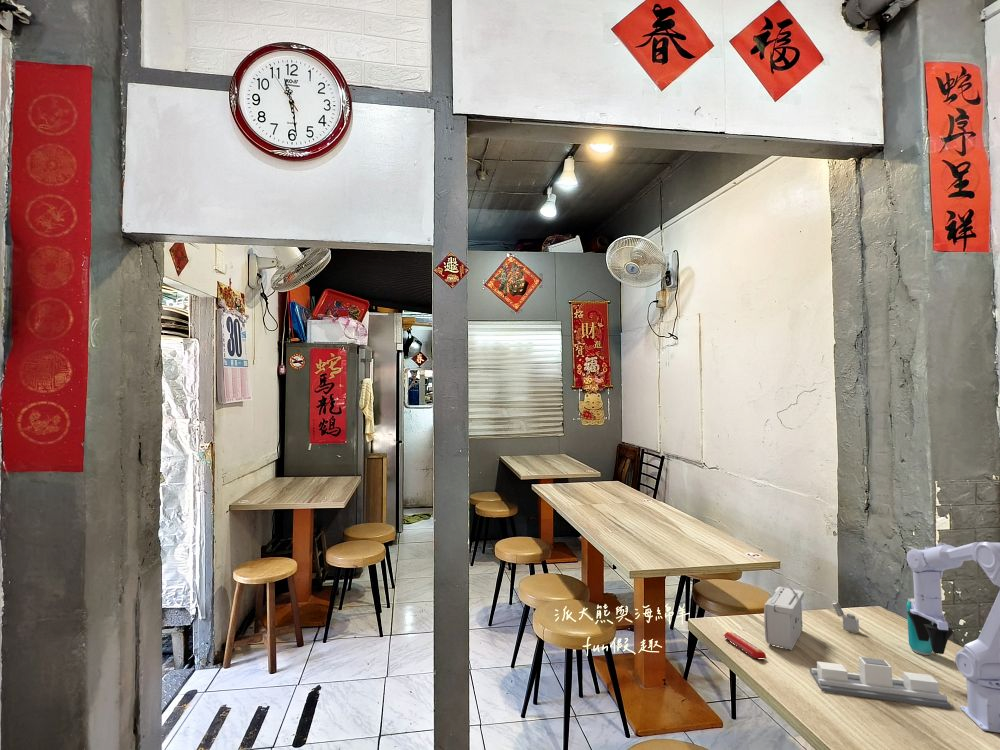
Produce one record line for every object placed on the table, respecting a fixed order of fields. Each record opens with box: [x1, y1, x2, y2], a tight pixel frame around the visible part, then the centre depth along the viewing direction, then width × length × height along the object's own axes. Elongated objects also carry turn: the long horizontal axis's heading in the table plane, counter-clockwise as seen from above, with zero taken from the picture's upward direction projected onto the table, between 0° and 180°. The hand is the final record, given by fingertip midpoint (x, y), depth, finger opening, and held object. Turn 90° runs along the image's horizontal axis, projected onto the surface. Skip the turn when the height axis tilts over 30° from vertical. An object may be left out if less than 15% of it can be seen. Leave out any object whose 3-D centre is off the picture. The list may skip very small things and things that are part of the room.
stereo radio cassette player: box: [763, 583, 805, 651], centre depth 164 cm, size 21×8×20 cm, turn 141°
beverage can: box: [906, 597, 933, 656], centre depth 155 cm, size 6×6×15 cm
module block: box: [858, 656, 893, 688], centre depth 134 cm, size 4×6×6 cm, turn 73°
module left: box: [816, 661, 848, 682], centre depth 137 cm, size 4×6×4 cm, turn 74°
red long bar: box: [723, 631, 768, 660], centre depth 156 cm, size 16×4×3 cm, turn 14°
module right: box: [902, 671, 940, 694], centre depth 131 cm, size 4×6×4 cm, turn 74°
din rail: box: [809, 667, 952, 710], centre depth 134 cm, size 10×28×2 cm, turn 74°
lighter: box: [831, 601, 860, 634], centre depth 171 cm, size 7×2×8 cm, turn 38°
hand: (930, 646), depth 137 cm, fingers open, 7 cm apart
